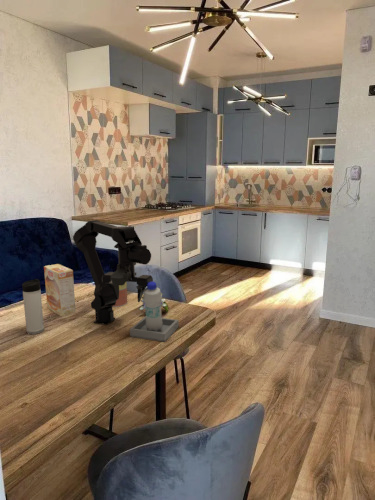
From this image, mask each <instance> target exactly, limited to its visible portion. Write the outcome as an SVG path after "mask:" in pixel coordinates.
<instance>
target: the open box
mask: <svg viewBox="0 0 375 500" xmlns="http://www.w3.org/2000/svg"><path fill="white" fill-rule="evenodd" d="M162 323H163V324H162V328H161V330H160V331H159V330H157V332H155V331H154V330H153V331H149V330H147V328H146V315H145V316H144V317H143V318H141V319H140V320H139V321H138V322H136V323H135V324H134V325H133V326H132V327H130V329H129V337H131V338H137V339H143V340H151V341H156V342H162V343H165V342H167V341H168V339H169V338H170V337H171V336H172V335H173V333H175V332H176V331H177V329H178V328H179V327H180V326H179V325H180V323H179V319H174V318H166V317H162Z"/></svg>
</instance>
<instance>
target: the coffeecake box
mask: <svg viewBox="0 0 375 500" xmlns="http://www.w3.org/2000/svg"><path fill="white" fill-rule="evenodd" d="M43 270H44V271H43V273H44V282H45V283H44V284H45V294H46V295H45V297H46V306H47V307H46V308H47V309H49V310H50V311H51V312H54V313H55V314H56V315H58V316H60V317H65V316H69V315H72V314H76V313H77V312H76V299H75V298H76V297H75V285H74V284H75V282H74V270H73V269H71V268H69V267H66V266H64V265H62V264H60V263H56V264H51V265H50V264H48V265H45V266H43Z"/></svg>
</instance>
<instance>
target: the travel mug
mask: <svg viewBox="0 0 375 500" xmlns="http://www.w3.org/2000/svg"><path fill="white" fill-rule="evenodd" d="M21 286H22V287H21V288H22V300H23V307H24V319H25V328H26V329H25V330H26V333H27V334H28V333H29V334H28V335H38V334H37V333H39V334H40V333H43V332H44V331H45V324H44V323H45V322H44V314H43V302H42V291H41V282H40V279H39V278H34V279H30V280H27V281H24V282H23V283H22V284H21Z"/></svg>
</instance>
